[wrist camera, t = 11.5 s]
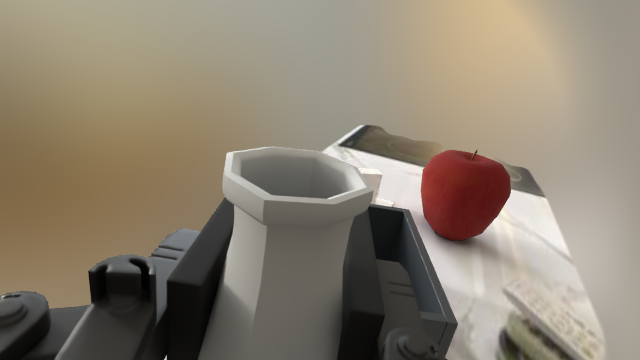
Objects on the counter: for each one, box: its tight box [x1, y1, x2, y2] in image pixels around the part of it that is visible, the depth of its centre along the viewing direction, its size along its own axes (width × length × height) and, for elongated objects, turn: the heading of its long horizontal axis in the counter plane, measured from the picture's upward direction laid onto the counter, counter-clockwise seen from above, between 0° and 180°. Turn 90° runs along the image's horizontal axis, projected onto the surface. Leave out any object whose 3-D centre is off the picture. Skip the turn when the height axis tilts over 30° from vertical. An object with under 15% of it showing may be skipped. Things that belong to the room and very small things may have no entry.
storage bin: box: [368, 204, 458, 358], centre depth 34 cm, size 18×18×8 cm
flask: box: [198, 147, 374, 360], centre depth 10 cm, size 7×7×10 cm
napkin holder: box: [358, 168, 394, 207], centre depth 58 cm, size 15×11×6 cm
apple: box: [421, 150, 511, 241], centre depth 52 cm, size 12×12×13 cm
